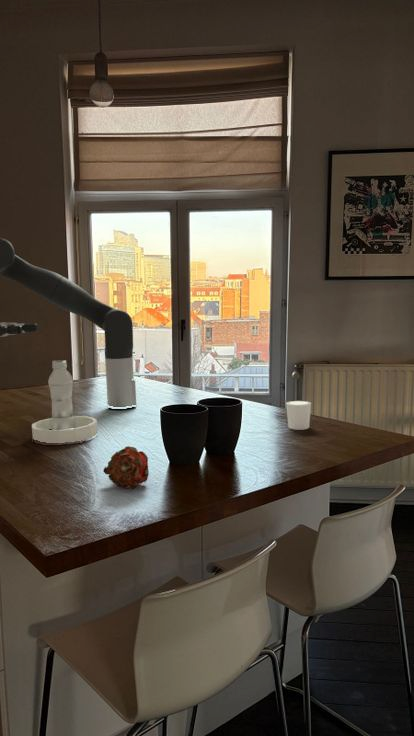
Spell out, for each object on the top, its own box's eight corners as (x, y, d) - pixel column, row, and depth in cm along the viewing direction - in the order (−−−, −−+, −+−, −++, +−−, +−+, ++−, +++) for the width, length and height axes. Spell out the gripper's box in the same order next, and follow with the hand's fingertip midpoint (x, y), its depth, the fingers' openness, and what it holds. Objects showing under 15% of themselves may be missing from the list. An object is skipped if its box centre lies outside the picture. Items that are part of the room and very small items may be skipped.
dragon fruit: (133, 504, 106) (120, 493, 118) (165, 473, 109) (150, 465, 120) (104, 472, 105) (94, 463, 116) (137, 441, 107) (124, 435, 118)
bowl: (93, 427, 163) (92, 413, 162) (101, 441, 147) (100, 426, 146) (32, 433, 158) (31, 419, 157) (33, 448, 142) (32, 433, 141)
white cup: (311, 430, 151) (310, 405, 150) (285, 430, 153) (285, 404, 152) (311, 424, 158) (311, 400, 157) (287, 424, 159) (286, 400, 159)
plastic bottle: (46, 435, 151) (41, 362, 148) (63, 429, 157) (59, 359, 154) (64, 437, 148) (59, 362, 145) (81, 431, 154) (76, 359, 151)
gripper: (-40, 318, 153) (14, 316, 150) (-10, 315, 167) (40, 314, 164) (-37, 345, 154) (17, 344, 151) (-8, 340, 168) (42, 339, 165)
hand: (29, 328), depth 157 cm, fingers open, 8 cm apart
